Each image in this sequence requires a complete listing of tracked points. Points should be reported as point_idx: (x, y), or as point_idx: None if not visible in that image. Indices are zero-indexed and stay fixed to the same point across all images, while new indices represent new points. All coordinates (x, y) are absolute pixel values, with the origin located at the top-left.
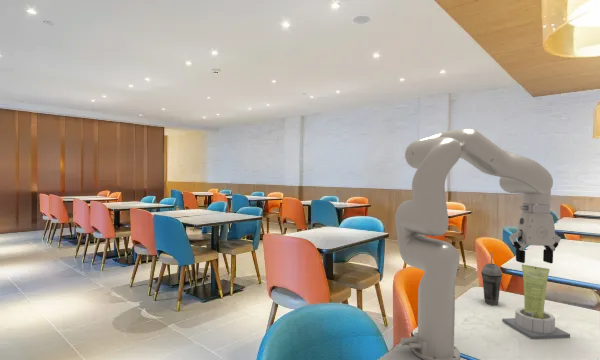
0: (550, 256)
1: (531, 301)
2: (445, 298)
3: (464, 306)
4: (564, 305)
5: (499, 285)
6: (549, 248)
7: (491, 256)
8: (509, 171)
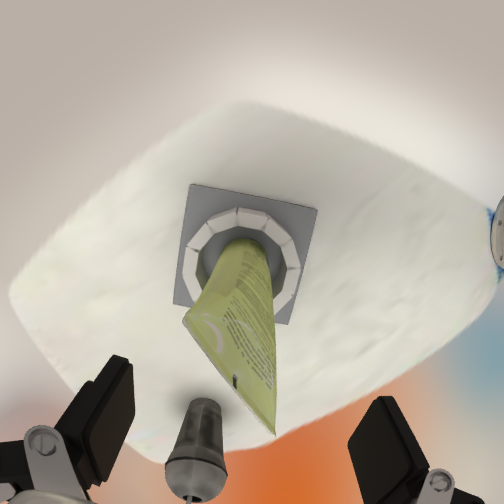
0: (110, 401)
1: (269, 283)
2: None
3: (294, 409)
4: (37, 337)
5: (188, 436)
6: (74, 471)
7: None
8: None
